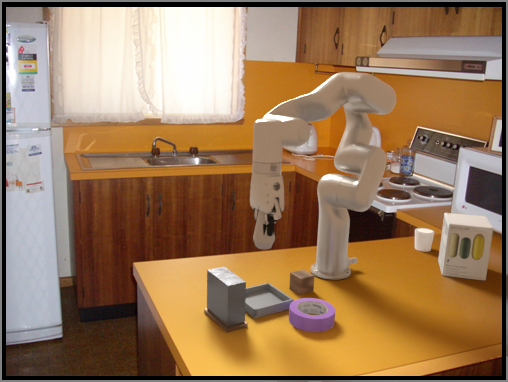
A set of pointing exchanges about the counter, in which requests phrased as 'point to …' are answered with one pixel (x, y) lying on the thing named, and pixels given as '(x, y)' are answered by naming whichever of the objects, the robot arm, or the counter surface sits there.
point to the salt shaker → (259, 238)
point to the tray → (265, 300)
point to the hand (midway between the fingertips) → (264, 235)
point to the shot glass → (423, 239)
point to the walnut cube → (301, 282)
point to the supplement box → (465, 246)
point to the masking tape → (311, 322)
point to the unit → (226, 299)
